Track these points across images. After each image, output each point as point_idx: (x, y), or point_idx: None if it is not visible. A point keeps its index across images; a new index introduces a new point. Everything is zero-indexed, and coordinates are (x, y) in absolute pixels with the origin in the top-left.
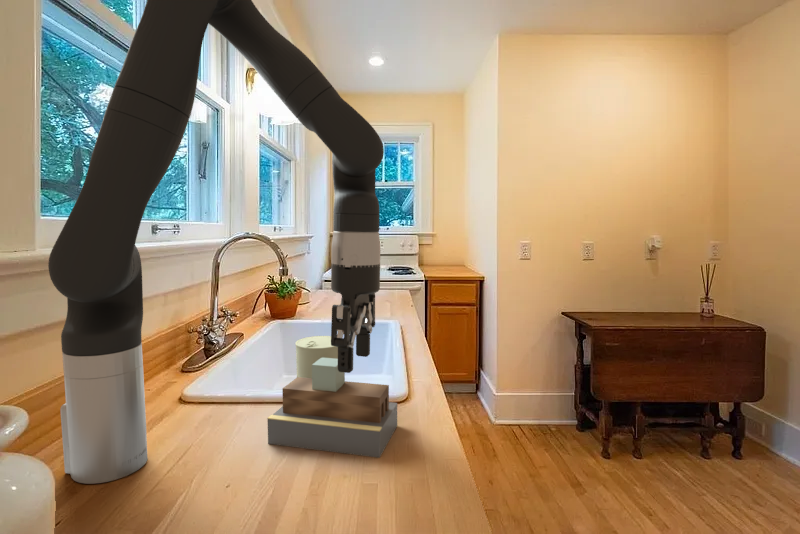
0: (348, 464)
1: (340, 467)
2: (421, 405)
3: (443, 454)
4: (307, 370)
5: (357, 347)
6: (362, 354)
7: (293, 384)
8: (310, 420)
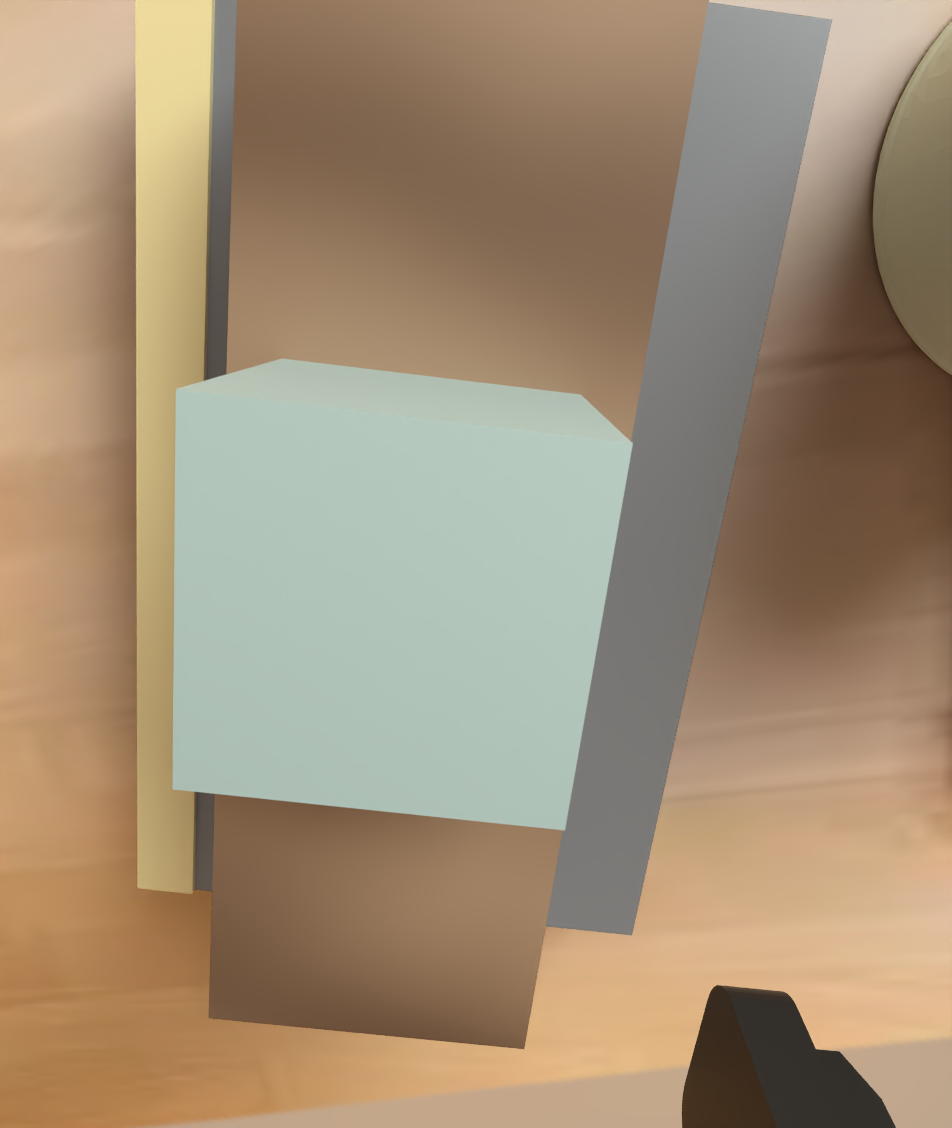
0: (89, 638)
1: (46, 603)
2: (927, 934)
3: (301, 1052)
4: None
5: (758, 1107)
6: (704, 1071)
7: (409, 43)
8: (175, 375)
